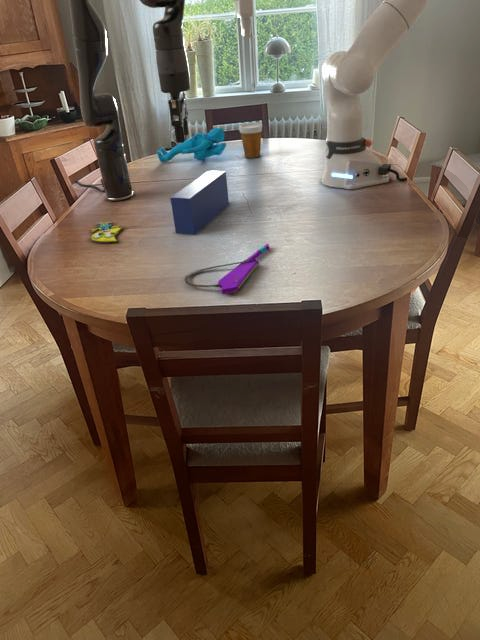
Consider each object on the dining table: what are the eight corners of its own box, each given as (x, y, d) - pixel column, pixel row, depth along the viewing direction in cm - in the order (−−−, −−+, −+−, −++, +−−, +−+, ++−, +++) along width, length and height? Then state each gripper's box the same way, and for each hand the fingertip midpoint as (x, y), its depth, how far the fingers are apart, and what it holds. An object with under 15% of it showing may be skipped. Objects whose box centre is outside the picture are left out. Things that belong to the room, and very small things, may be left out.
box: (211, 202, 157) (208, 170, 152) (228, 203, 155) (225, 171, 149) (175, 233, 138) (170, 197, 132) (194, 234, 136) (189, 198, 130)
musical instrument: (182, 302, 106) (271, 286, 103) (179, 293, 105) (270, 277, 102) (195, 260, 127) (269, 246, 124) (193, 253, 126) (268, 239, 123)
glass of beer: (264, 157, 198) (262, 127, 191) (241, 159, 198) (238, 129, 192) (263, 152, 206) (261, 122, 199) (241, 153, 206) (239, 124, 200)
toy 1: (127, 219, 147) (117, 239, 134) (127, 222, 147) (117, 242, 135) (94, 222, 147) (81, 242, 135) (94, 225, 148) (82, 245, 135)
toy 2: (164, 141, 211) (226, 121, 200) (173, 164, 216) (234, 146, 206) (150, 151, 197) (216, 130, 187) (160, 176, 202) (225, 157, 192)
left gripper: (162, 68, 124) (172, 134, 133) (153, 74, 112) (164, 146, 121) (191, 65, 124) (199, 131, 132) (184, 71, 112) (194, 143, 120)
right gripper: (256, -27, 121) (260, 36, 128) (251, -22, 138) (254, 33, 145) (231, -25, 121) (236, 39, 128) (229, -20, 138) (233, 35, 145)
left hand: (182, 138), depth 126 cm, fingers open, 8 cm apart
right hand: (246, 36), depth 137 cm, fingers open, 8 cm apart
